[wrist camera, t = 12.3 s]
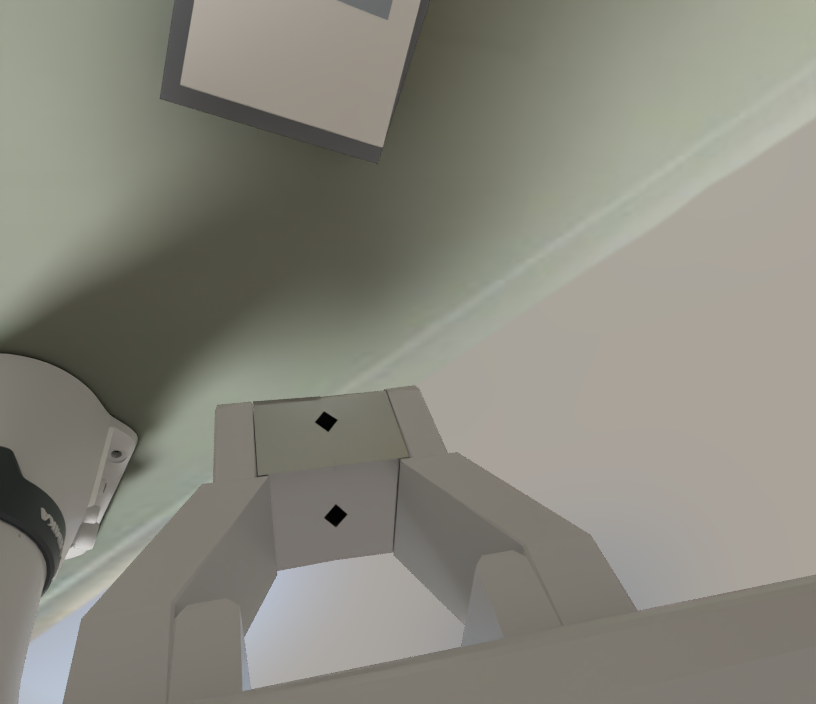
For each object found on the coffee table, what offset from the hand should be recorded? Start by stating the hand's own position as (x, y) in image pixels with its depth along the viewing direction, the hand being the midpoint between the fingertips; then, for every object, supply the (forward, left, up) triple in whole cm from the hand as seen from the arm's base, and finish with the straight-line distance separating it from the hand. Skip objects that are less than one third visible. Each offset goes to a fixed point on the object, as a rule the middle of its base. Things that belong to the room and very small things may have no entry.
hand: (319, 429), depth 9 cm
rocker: (+3, -2, -29) cm, 29 cm away
